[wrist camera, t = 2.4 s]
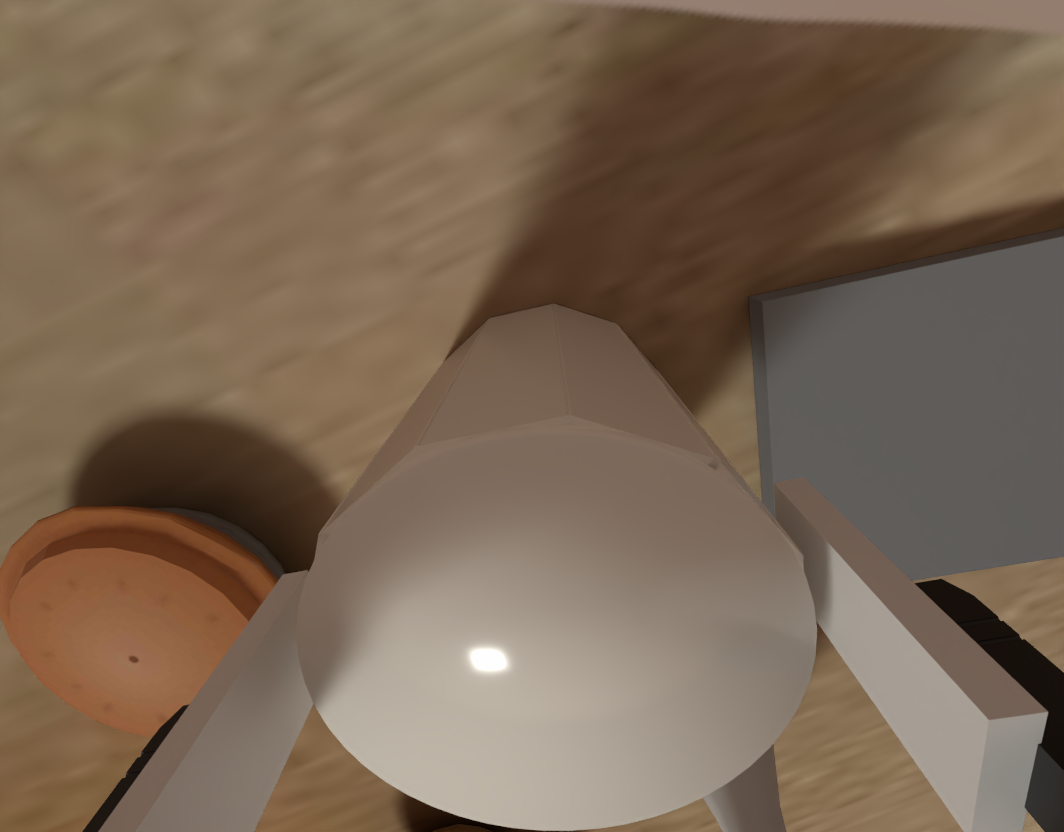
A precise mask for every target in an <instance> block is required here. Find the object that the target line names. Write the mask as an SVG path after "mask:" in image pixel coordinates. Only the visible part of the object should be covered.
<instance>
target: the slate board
mask: <svg viewBox="0 0 1064 832" xmlns="http://www.w3.org/2000/svg"><path fill="white" fill-rule="evenodd" d="M748 299H749V314H750V328H751V343H752V357H753V372H754V386H755V401H756V415H757V430H758V445H759V459H760V474H761V488H762V503H763V504H764V506H765V507H766V508H767V509H768V511H769V512H770V513H771V514H772V516H773V517H774V518H775V520H776V516H775V498H774V483H775V482H781V481H786V480H791V479H797V478H802V477H804V478H805V479H806V480H807V481H808V482H809V483H810V484H811V485H812V486H813V487H814V488H815V489H816V490H817V491H818V492H819V493H820V494H822V495H823V496H824V497H825V498H826V499H827V500H828V501H829V502H830V503H831V504H832V505H833V506H834V507H835V508H836V509H837V510H838V511H839V512H840V513H841V514H842V515H843V516H844V517H846V518H847V519H848V520H849V521H850V522H851V523H852V524H853V525H854V526H855V527H856V528H857V529H858V530H859V531H860V532H861V533H862V534H863V535H864V536H865V537H866V538H867V539H868V540H869V541H871V542H872V543H873V544H874V545H875V546H876V547H877V548H878V549H879V550H880V551H881V552H882V553H883V554H884V555H885V556H886V557H887V558H888V559H889V560H890V561H891V562H892V563H893V564H895V565H896V566H897V567H898V568H899V569H900V570H901V571H902V572H903V573H904V574H905V575H906V576H907V577H908V578H909V579H910V580H911V581H912V580H919V579H925V578H931V577H938V576H944V575H950V574H957V573H963V572H969V571H976V570H982V569H988V568H995V567H1001V566H1007V565H1014V564H1020V563H1026V562H1033V561H1039V560H1045V559H1052V558H1058V557H1064V228H1061V229H1056V230H1052V231H1047V232H1043V233H1038V234H1033V235H1029V236H1024V237H1020V238H1015V239H1010V240H1006V241H1001V242H997V243H992V244H988V245H983V246H978V247H974V248H969V249H965V250H960V251H956V252H951V253H946V254H942V255H937V256H933V257H928V258H924V259H919V260H914V261H910V262H905V263H901V264H896V265H892V266H887V267H882V268H878V269H873V270H869V271H864V272H860V273H855V274H850V275H846V276H841V277H837V278H832V279H828V280H823V281H818V282H814V283H809V284H805V285H800V286H796V287H791V288H786V289H782V290H777V291H773V292H768V293H764V294H759V295H754V296H750V297H748Z"/></svg>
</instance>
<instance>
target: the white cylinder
mask: <svg viewBox="0 0 1064 832" xmlns="http://www.w3.org/2000/svg"><path fill="white" fill-rule="evenodd" d="M803 559H804V557H803V554H802V552H801V551H800V550H799V549H798V547H797V546H796V545H795V544H794V542H793V541H792V540H791V538H790V537H789V536H788V535H787V533H786V532H785V531H784V530H783V528H782V527H781V526H780V525H779V523H778V522H777V521H776V520H775V518H774V517H773V516H772V514H771V513H770V512H769V511H768V509H767V508H766V507H765V506H764V504H763V503H762V502H761V501H760V499H759V498H758V497H757V495H756V494H755V493H754V492H753V490H752V489H751V488H750V487H749V485H748V484H747V483H746V482H745V480H744V479H743V478H742V477H741V475H740V474H739V473H738V471H737V470H736V469H735V468H734V466H733V465H732V464H731V463H730V461H729V460H728V459H727V458H726V456H725V455H724V454H723V452H722V451H721V450H720V449H719V447H718V446H717V445H716V444H715V442H714V441H713V440H712V439H711V437H710V436H709V435H708V434H707V432H706V431H705V430H704V428H703V427H702V426H701V425H700V423H699V422H698V421H697V420H696V418H695V417H694V416H693V415H692V413H691V412H690V411H689V409H688V408H687V407H686V406H685V404H684V403H683V402H682V401H681V399H680V398H679V397H678V396H677V394H676V393H675V392H674V391H673V389H672V388H671V387H670V385H669V384H668V383H667V382H666V380H665V379H664V378H663V377H662V375H661V374H660V373H659V372H658V370H657V369H655V368H654V366H653V365H652V364H651V363H650V362H649V361H648V359H647V358H646V357H645V356H644V355H643V354H642V352H641V351H640V350H639V349H638V348H637V347H636V346H635V344H634V343H633V342H632V341H631V340H630V339H629V337H628V336H627V335H626V334H625V333H624V332H623V330H622V329H621V328H620V326H619V325H618V324H617V323H613V322H610V321H607V320H604V319H601V318H598V317H595V316H591V315H588V314H585V313H582V312H579V311H576V310H573V309H570V308H566V307H563V306H560V305H557V304H555V303H553V304H549V305H545V306H541V307H536V308H532V309H527V310H523V311H518V312H514V313H510V314H505V315H501V316H496V317H492V318H488V320H487V321H486V322H485V323H484V324H483V325H482V326H481V327H480V328H479V329H478V330H476V331H475V332H474V333H473V334H472V335H471V336H470V337H469V338H468V339H467V340H466V341H465V342H464V343H463V344H462V345H461V346H460V347H459V348H458V349H457V350H456V351H454V352H453V353H452V354H451V355H450V356H449V357H448V358H447V359H446V360H444V362H443V363H442V364H441V366H440V367H439V369H438V370H437V371H436V373H435V374H434V375H433V377H432V378H431V380H430V381H429V382H428V384H427V385H426V386H425V388H424V389H423V391H422V392H421V393H420V395H419V396H418V397H417V399H416V400H415V402H414V403H413V404H412V406H411V407H410V408H409V410H408V411H407V413H406V414H405V415H404V417H403V418H402V419H401V421H400V422H399V424H398V425H397V426H396V428H395V429H394V430H393V432H392V433H391V434H390V436H389V437H388V439H387V440H386V441H385V443H384V444H383V445H382V447H381V448H380V450H379V451H378V452H377V454H376V455H375V456H374V458H373V459H372V461H371V462H370V463H369V465H368V466H367V467H366V469H365V470H364V472H363V473H362V474H361V476H360V477H359V478H358V480H357V481H356V483H355V484H354V485H353V487H352V488H351V489H350V491H349V492H348V494H347V495H346V496H345V498H344V499H343V500H342V502H341V503H340V505H339V506H338V507H337V509H336V510H335V511H334V513H333V514H332V516H331V517H330V518H329V520H328V521H327V522H326V524H325V525H324V527H323V528H322V529H321V531H320V532H319V534H318V541H317V547H316V552H315V558H314V562H313V564H312V566H311V568H310V571H309V573H308V575H307V577H306V579H305V582H304V586H303V590H302V594H301V598H300V601H299V605H298V614H297V626H296V639H297V650H298V659H299V663H300V667H301V671H302V675H303V678H304V682H305V685H306V687H307V689H308V692H309V694H310V696H311V699H312V701H313V703H314V705H315V707H316V709H317V710H318V712H319V714H320V715H321V717H322V718H323V720H324V722H325V723H326V725H327V726H328V728H329V729H330V730H331V732H332V733H333V734H334V735H335V736H336V738H337V739H338V740H339V741H340V742H341V744H342V745H343V746H344V747H345V748H346V749H347V750H348V751H349V752H350V753H351V754H352V755H353V756H354V757H355V758H356V759H357V760H358V761H359V762H361V763H362V764H363V765H364V766H365V767H366V768H368V769H369V770H370V771H372V772H373V773H374V774H376V775H377V776H378V777H380V778H381V779H382V780H384V781H385V782H387V783H388V784H390V785H392V786H393V787H395V788H397V789H399V790H400V791H402V792H404V793H405V794H407V795H409V796H411V797H413V798H415V799H417V800H419V801H421V802H424V803H426V804H428V805H430V806H432V807H435V808H437V809H440V810H443V811H446V812H449V813H451V814H454V815H457V816H460V817H464V818H467V819H471V820H475V821H479V822H483V823H487V824H492V825H498V826H504V827H510V828H517V829H529V830H540V831H574V830H587V829H599V828H605V827H612V826H618V825H624V824H629V823H633V822H637V821H641V820H645V819H649V818H653V817H656V816H658V815H661V814H664V813H667V812H670V811H673V810H676V809H678V808H681V807H683V806H685V805H687V804H690V803H692V802H694V801H696V800H698V799H700V798H703V797H705V796H706V795H708V794H710V793H712V792H713V791H715V790H717V789H718V788H720V787H722V786H724V785H725V784H727V783H728V782H730V781H731V780H733V779H734V778H735V777H737V776H738V775H739V774H741V773H742V772H743V771H745V770H746V769H747V768H749V767H750V766H751V765H752V764H753V763H754V762H755V761H756V760H757V759H758V758H760V757H761V756H762V755H763V754H764V753H765V752H766V751H767V750H768V749H769V748H770V747H771V746H772V744H773V743H774V742H775V741H776V740H777V738H778V737H779V736H780V735H781V733H782V732H783V731H784V730H785V729H786V727H787V725H788V724H789V722H790V721H791V719H792V717H793V716H794V714H795V712H796V711H797V709H798V707H799V706H800V703H801V701H802V699H803V696H804V694H805V691H806V689H807V687H808V684H809V682H810V678H811V674H812V669H813V665H814V661H815V657H816V641H817V624H816V616H815V607H814V601H813V598H812V595H811V591H810V588H809V585H808V582H807V578H806V575H805V573H804V565H803Z"/></svg>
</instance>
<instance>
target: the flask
mask: <svg viewBox="0 0 1064 832" xmlns="http://www.w3.org/2000/svg"><path fill="white" fill-rule="evenodd" d="M703 798H704V800H705V802H706V803H707V805H708V806H709V808H710V810H711V811H712V813H713V815H714V816H715V818H716V819H717V821H718V823H719V826H720V828H721V830H722V832H786V829H785V824H784V820H783V816H782V812H781V808H780V802H779V793H778V784H777V774H776V765H775V756H774V745H773V744H772V746H771V747H770V748H769V749H768V750H767V751H766V752H765V753H764V754H763V755H762V756H761V757H760V758H758V759H757V760H756V761H755V762H754V763H753V764H752V765H751V766H750V767H749V768H747V769H746V770H745V771H743V772H742V773H741V774H739V775H738V776H737V777H735V778H734V779H733V780H731V781H730V782H728V783H727V784H725V785H724V786H722V787H720V788H718V789H717V790H715V791H713V792H712V793H710V794H708V795H706V796H705V797H703Z"/></svg>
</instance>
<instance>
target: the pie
mask: <svg viewBox="0 0 1064 832" xmlns="http://www.w3.org/2000/svg"><path fill="white" fill-rule="evenodd" d="M284 574H286V573H285V571H284V569H283V567H282V565H281V564H280V563H279V562H278V560H277V559H276V558H275V557H274V556H273V555H272V553H271V552H270V551H269V550H268V549H267V548H266V546H265V545H264V544H263V543H262V542H260V541H259V540H257V539H256V538H255V537H253V536H252V535H251V534H249V533H248V532H246V531H245V530H244V529H242V528H241V527H240V526H238V525H235V524H233V523H231V522H229V521H226V520H224V519H222V518H219V517H217V516H215V515H213V514H210V513H206V512H201V511H196V510H191V509H186V508H180V507H171V508H144V507H130V506H76V507H72V508H70V509H67V510H65V511H62V512H59V513H57V514H54V515H51V516H49V517H46V518H44V519H41V520H38V521H37V522H36V523H35V524H34V525H33V526H32V527H31V528H30V529H29V530H28V531H27V532H26V533H25V534H24V535H23V536H22V537H21V538H19V539H18V540H17V541H16V542H15V543H14V544H13V545H12V546H11V548H10V550H9V552H8V554H7V556H6V558H5V560H4V562H3V564H2V567H1V569H0V617H1V619H2V622H3V624H4V626H5V629H6V631H7V633H8V636H9V638H10V640H11V642H12V643H13V645H14V646H15V647H16V649H17V650H18V651H19V652H20V655H21V657H22V658H23V659H24V661H25V662H26V663H27V665H28V666H29V667H30V668H31V670H32V671H33V672H34V674H35V675H36V676H37V678H38V679H39V680H40V682H42V683H43V684H44V685H45V686H46V687H47V688H49V689H50V690H51V691H52V692H53V693H55V694H56V695H57V696H58V697H59V698H60V699H62V700H63V701H64V702H65V703H66V704H68V705H70V706H71V707H73V708H75V709H77V710H78V711H80V712H82V713H84V714H85V715H87V716H89V717H91V718H92V719H94V720H96V721H98V722H101V723H103V724H106V725H109V726H112V727H115V728H117V729H120V730H123V731H126V732H129V733H132V734H138V735H144V736H149V737H153V736H154V735H155V734H156V732H157V731H158V729H159V728H160V727H161V726H162V725H163V724H164V723H165V722H166V721H168V720H169V719H170V718H171V717H172V716H173V715H174V714H175V713H176V712H177V711H178V710H179V709H180V708H181V707H182V706H183V705H189V704H190V703H191V702H192V700H193V699H194V698H195V696H196V695H197V693H198V692H199V691H200V689H201V688H202V686H203V685H204V684H205V682H206V681H207V679H208V678H209V677H210V675H211V674H212V672H213V671H214V670H215V668H216V667H217V665H218V664H219V663H220V661H221V660H222V659H223V657H224V656H225V654H226V653H227V652H228V650H229V649H230V647H231V646H232V645H233V643H234V642H235V640H236V639H237V638H238V636H239V635H240V633H241V632H242V631H243V629H244V628H245V627H246V625H247V624H248V622H249V621H250V620H251V618H252V617H253V615H254V614H255V613H256V611H257V610H258V608H259V607H260V606H261V604H262V603H263V601H264V600H265V599H266V597H267V596H268V594H269V593H270V592H271V590H272V589H273V588H274V586H275V585H276V583H277V582H278V581H279V579H280V578H281V576H282V575H284Z"/></svg>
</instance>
